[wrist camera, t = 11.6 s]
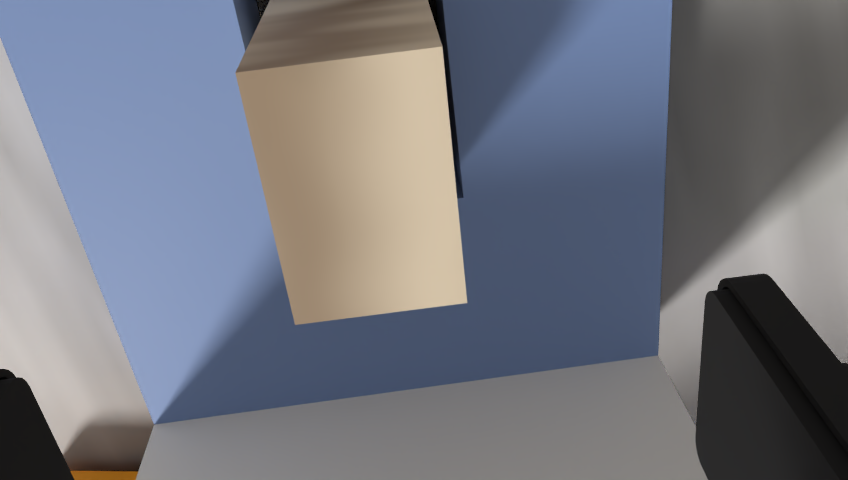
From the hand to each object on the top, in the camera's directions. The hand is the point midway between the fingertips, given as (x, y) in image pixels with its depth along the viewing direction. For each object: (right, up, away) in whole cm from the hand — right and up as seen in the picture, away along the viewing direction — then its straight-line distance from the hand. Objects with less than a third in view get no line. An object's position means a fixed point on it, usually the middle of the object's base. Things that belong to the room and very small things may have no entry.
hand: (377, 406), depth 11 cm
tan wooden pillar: (-1, +8, +14) cm, 16 cm away
